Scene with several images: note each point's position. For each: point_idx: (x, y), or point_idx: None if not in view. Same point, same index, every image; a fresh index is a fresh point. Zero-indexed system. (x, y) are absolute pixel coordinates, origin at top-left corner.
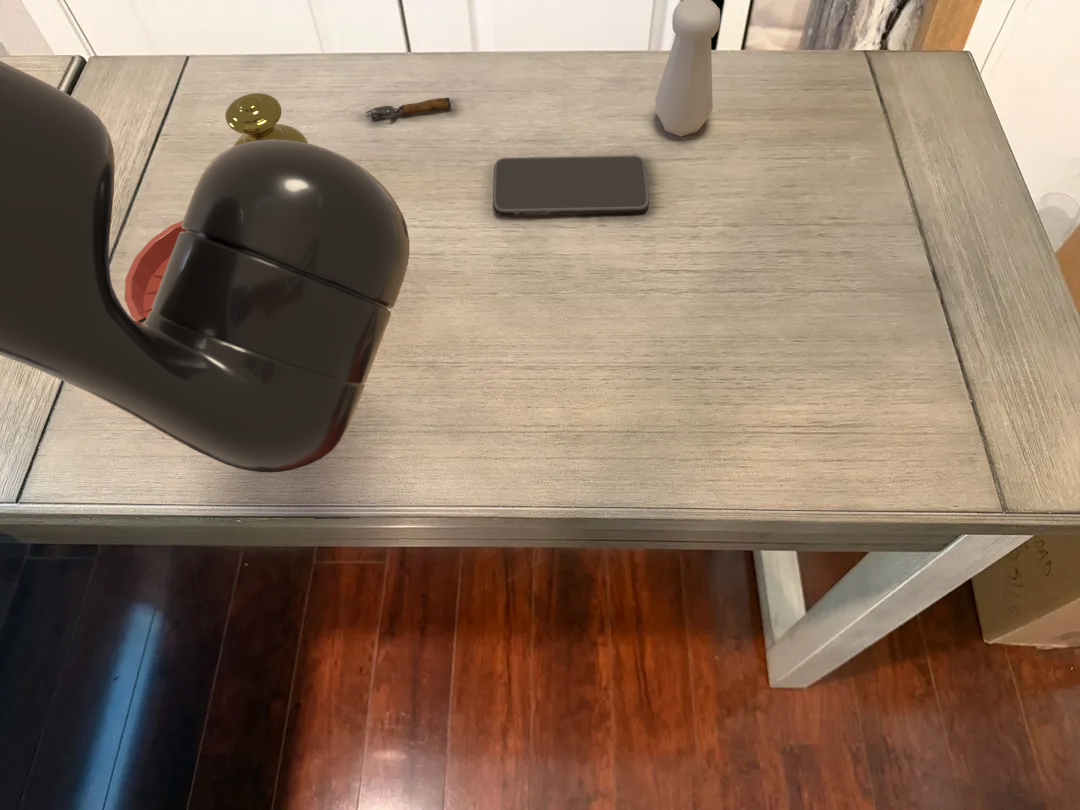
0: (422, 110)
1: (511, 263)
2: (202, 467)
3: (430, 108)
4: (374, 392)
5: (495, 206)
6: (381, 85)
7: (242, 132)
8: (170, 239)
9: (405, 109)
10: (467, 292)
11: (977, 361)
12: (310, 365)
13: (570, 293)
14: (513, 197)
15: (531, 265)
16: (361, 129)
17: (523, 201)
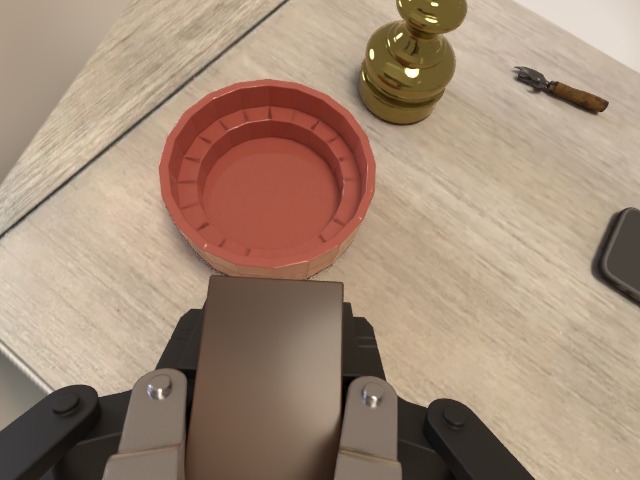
0: (572, 98)
1: (584, 344)
2: (130, 379)
3: (582, 101)
4: None
5: (604, 265)
6: (541, 47)
7: (407, 20)
8: (258, 93)
9: (557, 88)
10: (519, 349)
11: None
12: None
13: (636, 435)
14: (629, 266)
15: (605, 363)
16: (500, 81)
17: (638, 279)
